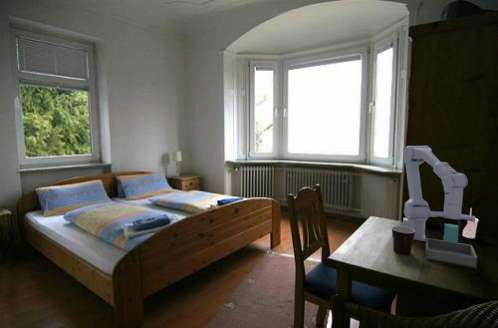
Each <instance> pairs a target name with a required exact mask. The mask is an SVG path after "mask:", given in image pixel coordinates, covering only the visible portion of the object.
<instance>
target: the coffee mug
mask: <svg viewBox="0 0 498 328" xmlns="http://www.w3.org/2000/svg"><path fill="white" fill-rule="evenodd" d="M391 233H392V248H393V252H394V253H395V254H397V255H401V256H410V255H411V254H412V249H413V243H414V235H415V230H414V229H412V228H409V227H405V226H403V225H394V226H392V227H391Z"/></svg>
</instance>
